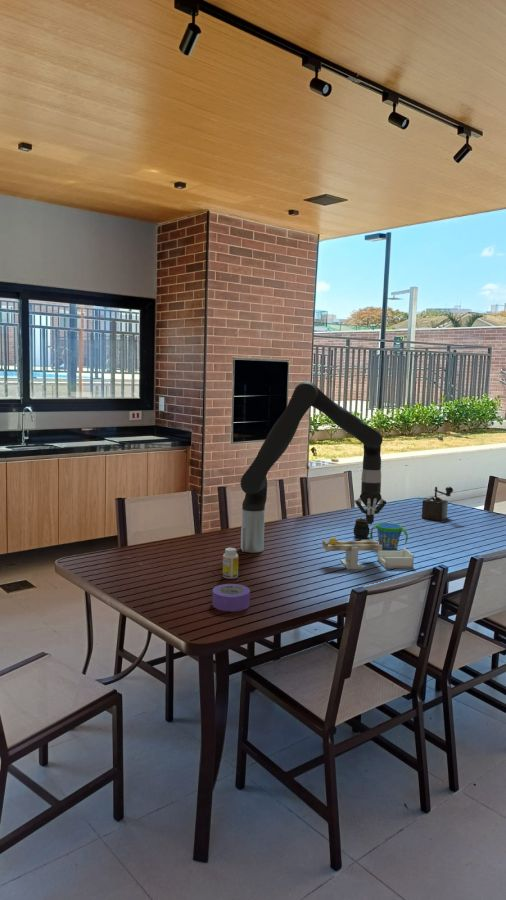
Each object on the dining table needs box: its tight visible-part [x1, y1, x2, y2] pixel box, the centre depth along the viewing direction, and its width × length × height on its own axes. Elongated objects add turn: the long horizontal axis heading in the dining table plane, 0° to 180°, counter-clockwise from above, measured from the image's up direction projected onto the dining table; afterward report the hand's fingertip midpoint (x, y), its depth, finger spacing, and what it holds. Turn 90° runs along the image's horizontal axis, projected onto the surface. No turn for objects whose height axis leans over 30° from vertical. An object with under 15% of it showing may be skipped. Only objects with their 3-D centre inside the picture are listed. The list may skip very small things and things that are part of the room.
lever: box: [321, 539, 383, 552], centre depth 252 cm, size 22×12×3 cm, turn 97°
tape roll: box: [212, 583, 251, 612], centre depth 203 cm, size 12×12×5 cm
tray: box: [377, 547, 415, 569], centre depth 252 cm, size 11×10×5 cm
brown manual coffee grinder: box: [421, 486, 454, 522], centre depth 335 cm, size 16×11×18 cm
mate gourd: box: [353, 517, 371, 539], centre depth 293 cm, size 7×8×10 cm
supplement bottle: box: [222, 547, 239, 580], centre depth 231 cm, size 6×6×10 cm
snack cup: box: [369, 522, 409, 551], centre depth 273 cm, size 16×10×10 cm
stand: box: [339, 547, 364, 570], centre depth 249 cm, size 6×11×8 cm, turn 6°
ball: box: [328, 537, 338, 545], centre depth 248 cm, size 3×3×3 cm
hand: (369, 523), depth 255 cm, fingers closed
